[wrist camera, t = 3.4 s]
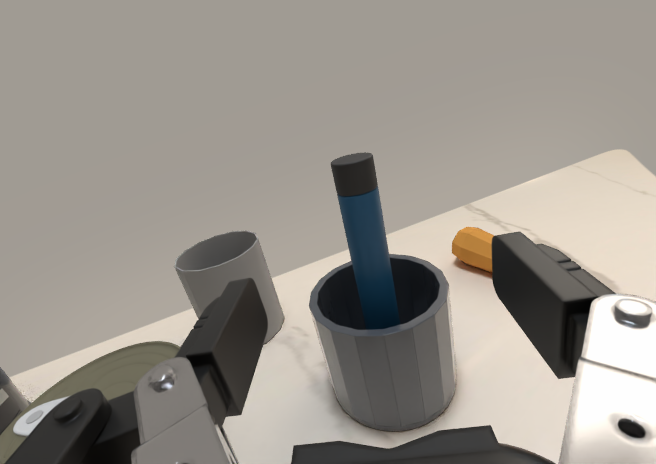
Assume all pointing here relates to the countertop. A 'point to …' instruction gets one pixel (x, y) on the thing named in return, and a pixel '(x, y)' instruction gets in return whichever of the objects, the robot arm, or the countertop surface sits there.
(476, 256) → the carrot
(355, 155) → the marker
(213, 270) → the cup
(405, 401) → the pen pot
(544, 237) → the countertop surface
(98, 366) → the can
